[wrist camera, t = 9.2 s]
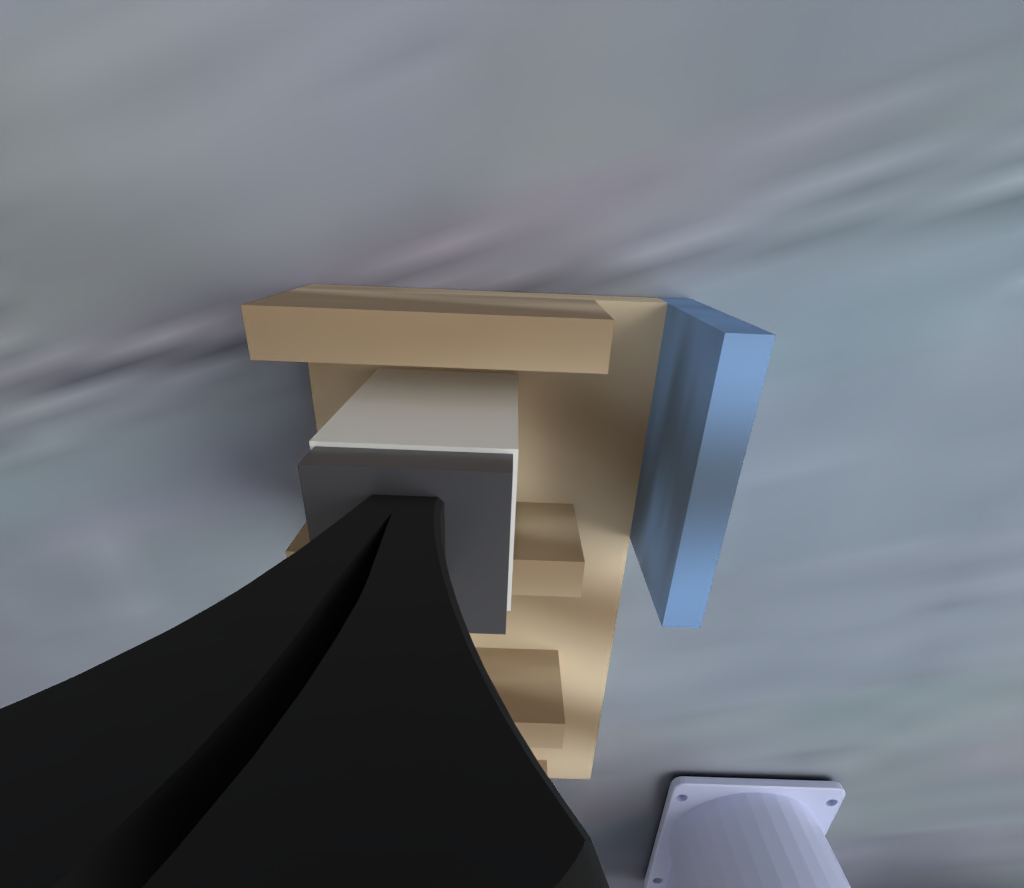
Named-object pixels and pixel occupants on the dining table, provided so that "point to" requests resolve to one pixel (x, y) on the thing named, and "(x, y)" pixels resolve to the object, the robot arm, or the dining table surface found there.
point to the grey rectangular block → (430, 471)
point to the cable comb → (563, 458)
